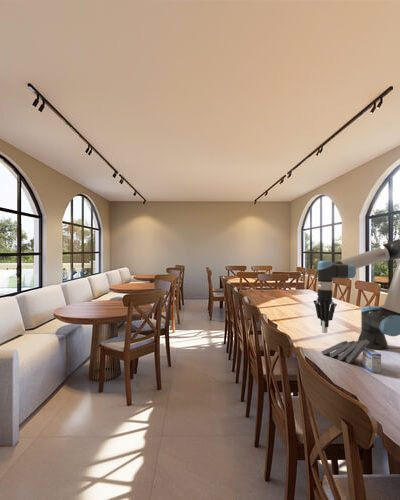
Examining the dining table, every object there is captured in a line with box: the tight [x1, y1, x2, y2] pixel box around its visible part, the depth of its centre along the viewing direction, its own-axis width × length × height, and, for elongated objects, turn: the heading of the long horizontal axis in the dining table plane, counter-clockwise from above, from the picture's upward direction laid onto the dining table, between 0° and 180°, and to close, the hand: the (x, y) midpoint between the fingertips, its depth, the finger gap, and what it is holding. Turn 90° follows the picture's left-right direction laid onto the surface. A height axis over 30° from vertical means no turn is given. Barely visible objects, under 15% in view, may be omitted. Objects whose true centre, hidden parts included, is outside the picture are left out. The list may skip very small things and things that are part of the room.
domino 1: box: [321, 340, 349, 356], centre depth 158 cm, size 5×2×14 cm
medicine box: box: [361, 347, 382, 374], centre depth 142 cm, size 8×4×9 cm, turn 2°
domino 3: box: [337, 340, 361, 362], centre depth 150 cm, size 5×2×14 cm
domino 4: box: [345, 339, 369, 364], centre depth 147 cm, size 5×2×14 cm
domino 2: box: [328, 340, 356, 359], centre depth 154 cm, size 5×2×14 cm
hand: (324, 332), depth 163 cm, fingers closed
